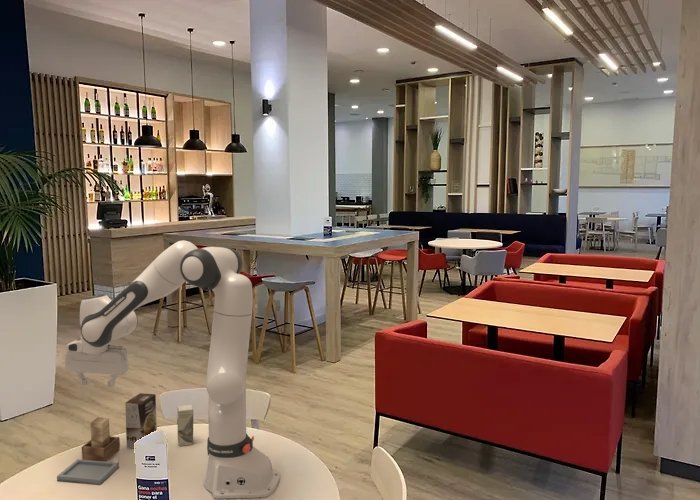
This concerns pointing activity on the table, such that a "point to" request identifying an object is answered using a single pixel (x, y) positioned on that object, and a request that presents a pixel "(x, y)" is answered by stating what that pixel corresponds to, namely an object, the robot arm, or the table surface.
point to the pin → (100, 432)
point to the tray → (88, 472)
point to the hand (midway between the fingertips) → (97, 385)
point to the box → (185, 425)
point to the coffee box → (140, 417)
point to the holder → (100, 450)
